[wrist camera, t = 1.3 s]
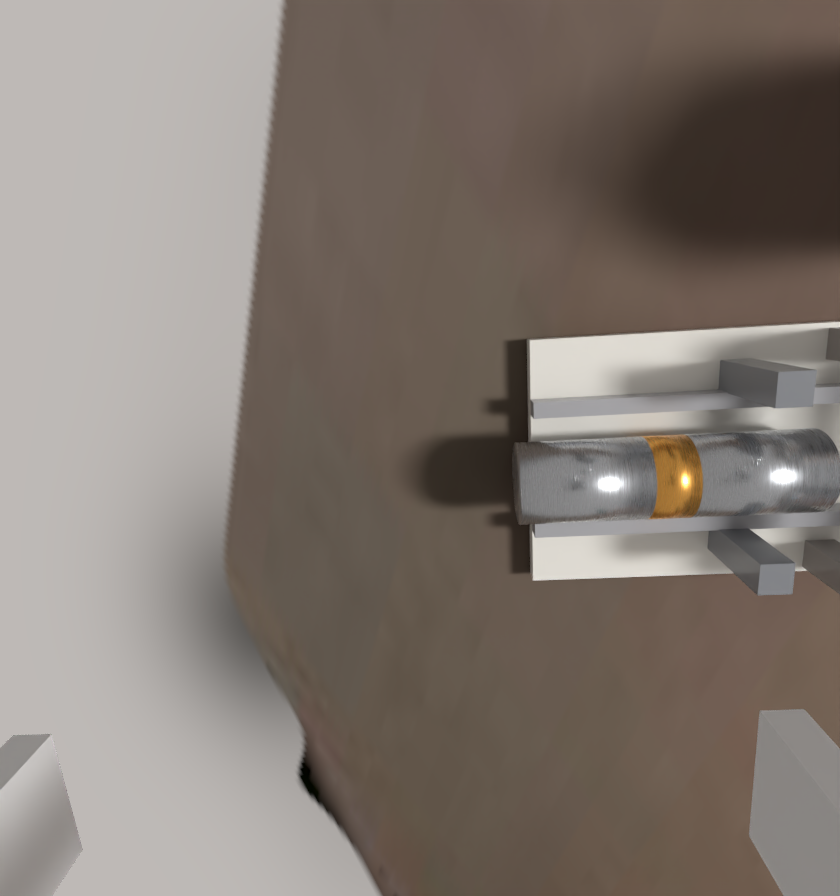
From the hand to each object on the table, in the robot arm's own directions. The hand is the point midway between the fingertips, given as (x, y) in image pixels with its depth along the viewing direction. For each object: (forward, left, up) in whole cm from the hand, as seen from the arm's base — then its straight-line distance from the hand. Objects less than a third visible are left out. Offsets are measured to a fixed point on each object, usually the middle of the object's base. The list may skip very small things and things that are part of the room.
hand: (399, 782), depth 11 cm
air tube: (0, +11, -20) cm, 23 cm away
